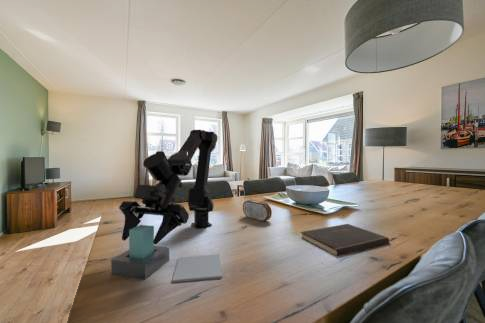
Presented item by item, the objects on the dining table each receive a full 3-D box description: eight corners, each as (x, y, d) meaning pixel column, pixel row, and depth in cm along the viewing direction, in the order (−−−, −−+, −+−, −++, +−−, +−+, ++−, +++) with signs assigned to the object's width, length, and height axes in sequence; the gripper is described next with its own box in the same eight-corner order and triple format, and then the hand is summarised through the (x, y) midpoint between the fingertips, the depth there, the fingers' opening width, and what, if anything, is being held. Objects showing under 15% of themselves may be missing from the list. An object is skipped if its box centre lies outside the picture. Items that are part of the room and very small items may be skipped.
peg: (141, 262, 56) (140, 224, 56) (154, 264, 55) (153, 226, 55) (129, 269, 53) (129, 229, 52) (143, 272, 52) (142, 231, 51)
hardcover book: (300, 238, 75) (300, 231, 75) (347, 229, 84) (347, 223, 84) (337, 258, 60) (337, 250, 60) (389, 244, 69) (389, 237, 69)
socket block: (139, 256, 60) (139, 243, 60) (169, 260, 57) (169, 247, 57) (111, 274, 51) (111, 259, 51) (145, 279, 48) (144, 264, 48)
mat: (178, 258, 58) (178, 257, 58) (219, 255, 60) (219, 254, 60) (172, 282, 47) (172, 280, 47) (221, 277, 49) (221, 275, 49)
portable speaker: (272, 222, 91) (272, 202, 91) (267, 223, 89) (267, 203, 89) (246, 215, 102) (246, 198, 102) (241, 216, 99) (241, 199, 99)
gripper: (123, 172, 60) (86, 222, 49) (183, 173, 55) (156, 229, 45) (143, 195, 68) (115, 243, 57) (197, 198, 63) (176, 251, 52)
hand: (138, 241), depth 53 cm, fingers open, 9 cm apart
